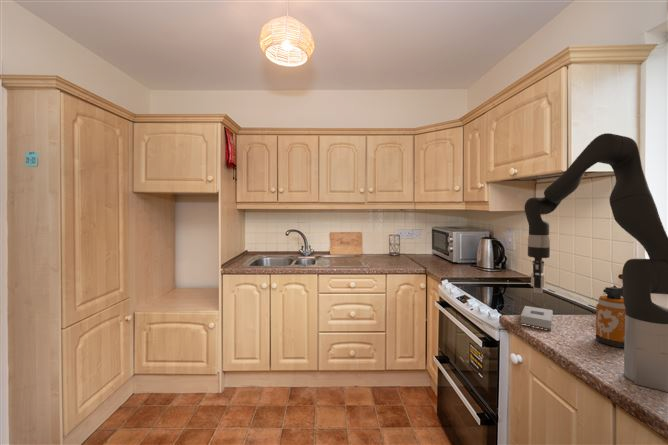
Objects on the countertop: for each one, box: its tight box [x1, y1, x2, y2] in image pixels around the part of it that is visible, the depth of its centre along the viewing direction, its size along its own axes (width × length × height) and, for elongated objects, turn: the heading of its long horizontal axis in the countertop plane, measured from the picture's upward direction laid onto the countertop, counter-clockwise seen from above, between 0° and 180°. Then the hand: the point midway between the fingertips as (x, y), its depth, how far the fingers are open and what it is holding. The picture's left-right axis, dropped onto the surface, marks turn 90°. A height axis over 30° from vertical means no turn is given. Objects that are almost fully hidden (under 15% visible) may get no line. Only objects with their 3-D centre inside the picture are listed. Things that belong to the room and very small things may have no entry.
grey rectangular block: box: [520, 305, 554, 331], centre depth 124 cm, size 16×10×4 cm, turn 142°
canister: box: [595, 285, 625, 348], centre depth 104 cm, size 9×11×20 cm
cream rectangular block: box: [530, 272, 546, 294], centre depth 123 cm, size 4×4×8 cm
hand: (537, 286), depth 123 cm, fingers closed on cream rectangular block, 4 cm apart
